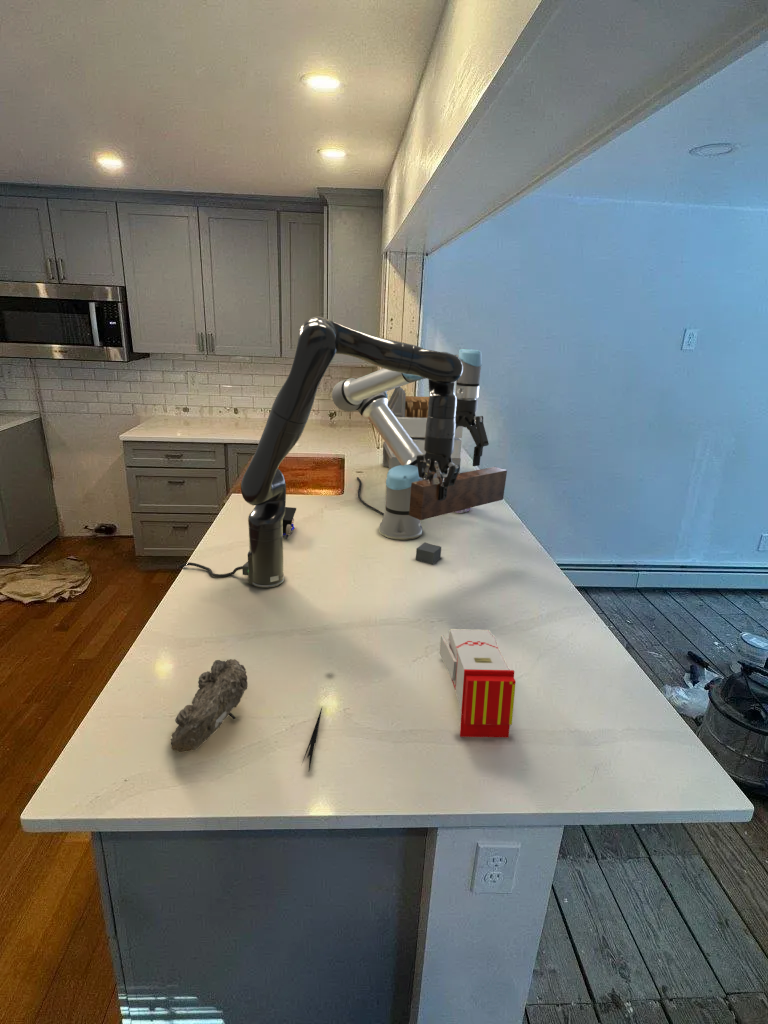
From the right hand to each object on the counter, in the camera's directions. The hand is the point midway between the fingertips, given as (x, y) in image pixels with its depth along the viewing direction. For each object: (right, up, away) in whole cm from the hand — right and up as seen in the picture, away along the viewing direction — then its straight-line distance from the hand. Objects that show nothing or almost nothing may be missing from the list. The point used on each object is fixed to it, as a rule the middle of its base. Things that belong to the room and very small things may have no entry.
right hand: (460, 461), depth 193 cm
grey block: (-12, -32, -12) cm, 37 cm away
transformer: (-9, +2, +82) cm, 82 cm away
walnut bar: (-5, -16, -35) cm, 39 cm away
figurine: (+4, -17, +33) cm, 38 cm away
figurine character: (-60, -25, +2) cm, 65 cm away
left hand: (-13, -13, -43) cm, 47 cm away
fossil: (-58, -56, -85) cm, 118 cm away
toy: (-8, -55, -75) cm, 93 cm away
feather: (-39, -57, -85) cm, 109 cm away
